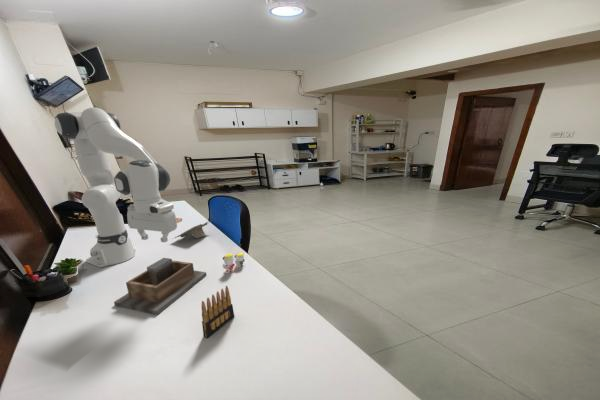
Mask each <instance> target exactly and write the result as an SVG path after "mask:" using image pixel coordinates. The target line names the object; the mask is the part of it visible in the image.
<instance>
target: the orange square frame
mask: <svg viewBox="0 0 600 400" xmlns="http://www.w3.org/2000/svg"><path fill="white" fill-rule="evenodd" d="M176 222H177V224H178V223H181V222H183V218H182V217H176Z"/></svg>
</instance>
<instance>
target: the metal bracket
mask: <svg viewBox="0 0 600 400" xmlns="http://www.w3.org/2000/svg"><path fill="white" fill-rule="evenodd" d="M172 260H173V259H172V258H169V257H162V258H160V259H159V260H157V261H156V262H154V263H152V264H150V265H148V266H147V267H146V271H148V276H149V281H150V285H155V286H157V285H159V284H160V283H161V282H163V281H164V280H166V279H167V278H169V277H170V276H172V275H173V274H174V270H173V264H172Z"/></svg>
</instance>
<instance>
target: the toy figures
mask: <svg viewBox="0 0 600 400" xmlns="http://www.w3.org/2000/svg"><path fill="white" fill-rule="evenodd" d="M234 259H235V261H234ZM222 260H223V262H224V263H223V264H222V268H223V269H225V270H223V274H229V273H230V272H232V271H233V270H234V267H235V268H240V267H241V266H243V265H244V262H245V260H246V259H245V255H244V253H243V252H238V253H236V254H235V255H234V254H233V253H226V254H225V255H224V256H222Z"/></svg>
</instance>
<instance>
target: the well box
mask: <svg viewBox="0 0 600 400" xmlns="http://www.w3.org/2000/svg"><path fill="white" fill-rule="evenodd" d="M172 264H173V270H174V274H173V275H172V276H170V277H169V278H167V279H166V280H164V281H163V282H161V283H160V284H159V285H157V286H155V285H150V281H149V276H148V271H147V270H145V271H143V272H142V273H140V274H138V275H137V276H135V277H133V278H131V279H130V280H128V281H126V282H125V284H126V289H127V292H128V293H126V294H125V295H122V296H121V297H119V298H118V299H116V300H115V301H113V304H114V306H115V307H119V308H125V309H128V310H133V311H138V312H143V313H147V314H151V315H157V316H158V315H160V314H161V313H162V312H163V311H165V310H166V309H167V308H168V307H170V306H171V305H172V304H173V303H174V302H176V300H178V299H179V298H181V297H182V296H183V295H184V294H186V292H188V291H189V290H190V289H191V288H193V287H195V285H197V284H198V283H200V281H202V280H203V279H204V278H205V277H206V276H207V272H206V271H199V270H195V269H194V263H193V262H187V261H186V262H185V261H178V260H173V259H172Z"/></svg>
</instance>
